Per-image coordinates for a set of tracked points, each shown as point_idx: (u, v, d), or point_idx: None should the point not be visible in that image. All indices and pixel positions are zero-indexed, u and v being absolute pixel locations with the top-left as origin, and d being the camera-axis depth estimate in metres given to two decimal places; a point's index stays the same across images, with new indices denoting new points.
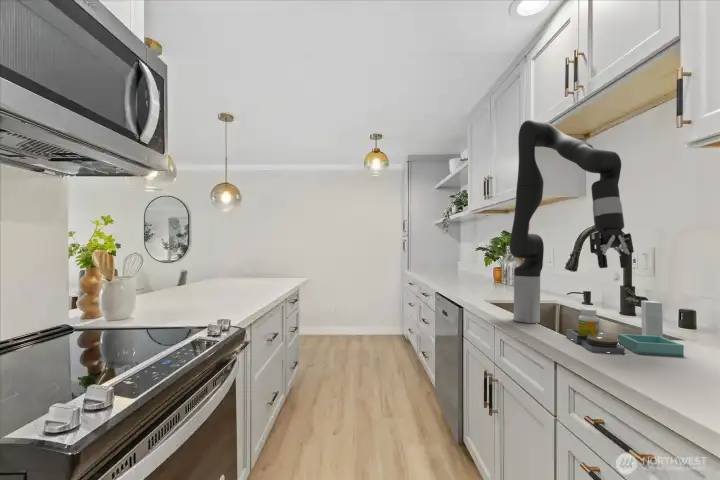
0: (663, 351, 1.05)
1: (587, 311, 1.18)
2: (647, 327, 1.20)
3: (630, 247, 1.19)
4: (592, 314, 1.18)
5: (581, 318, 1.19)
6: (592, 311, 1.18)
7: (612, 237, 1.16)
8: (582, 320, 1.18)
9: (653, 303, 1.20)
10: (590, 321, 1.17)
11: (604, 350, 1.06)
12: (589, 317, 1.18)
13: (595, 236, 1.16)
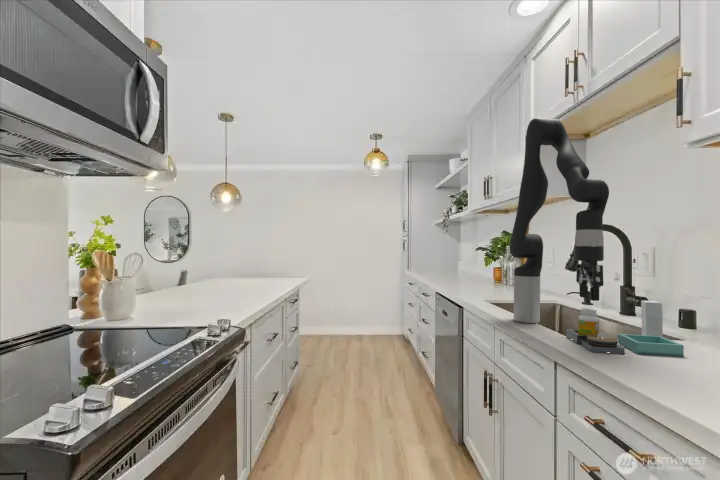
0: (663, 351, 1.05)
1: (587, 311, 1.18)
2: (647, 327, 1.20)
3: None
4: (592, 314, 1.18)
5: (581, 318, 1.19)
6: (592, 311, 1.18)
7: None
8: (582, 320, 1.18)
9: (653, 303, 1.20)
10: (590, 321, 1.17)
11: (604, 350, 1.06)
12: (588, 317, 1.18)
13: (601, 269, 1.13)
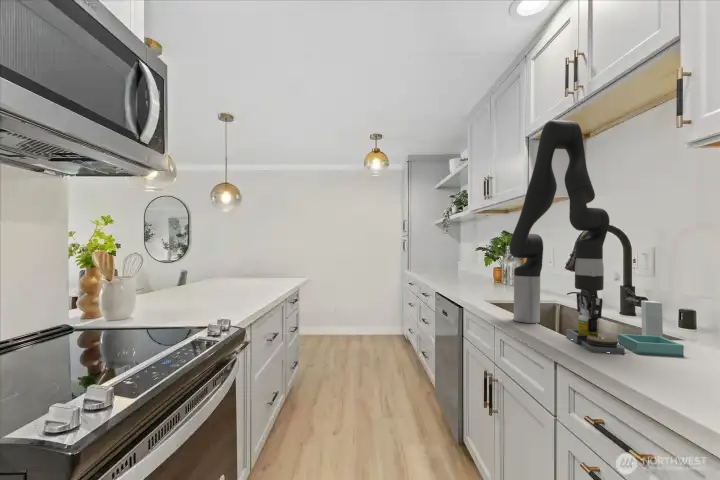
0: (663, 351, 1.05)
1: None
2: (647, 327, 1.20)
3: None
4: None
5: (581, 318, 1.19)
6: None
7: None
8: (582, 320, 1.18)
9: (653, 303, 1.20)
10: None
11: (604, 350, 1.06)
12: None
13: (600, 303, 1.13)
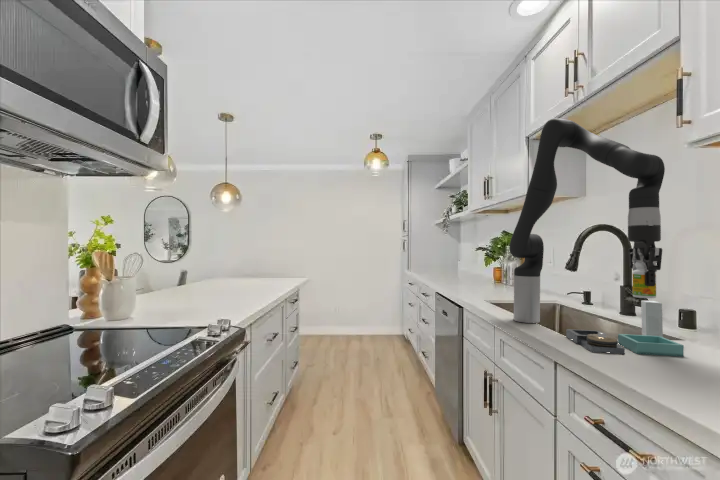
0: (663, 351, 1.05)
1: None
2: (647, 327, 1.20)
3: None
4: None
5: (636, 272, 1.10)
6: None
7: None
8: (638, 274, 1.10)
9: (653, 303, 1.20)
10: None
11: (604, 350, 1.06)
12: None
13: (660, 253, 1.04)
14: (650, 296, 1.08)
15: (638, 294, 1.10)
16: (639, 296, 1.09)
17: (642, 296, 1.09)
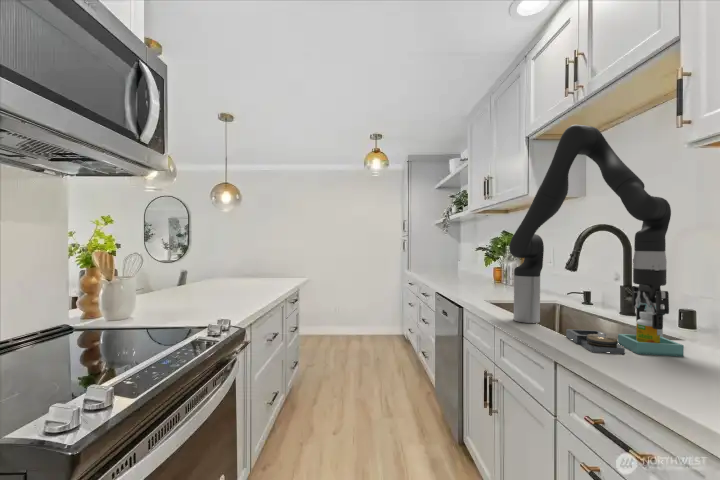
0: (663, 351, 1.05)
1: (647, 315, 1.09)
2: None
3: None
4: None
5: (640, 322, 1.10)
6: None
7: None
8: (642, 325, 1.10)
9: None
10: (651, 326, 1.08)
11: (604, 350, 1.06)
12: (649, 321, 1.09)
13: (666, 296, 1.04)
14: None
15: None
16: None
17: None
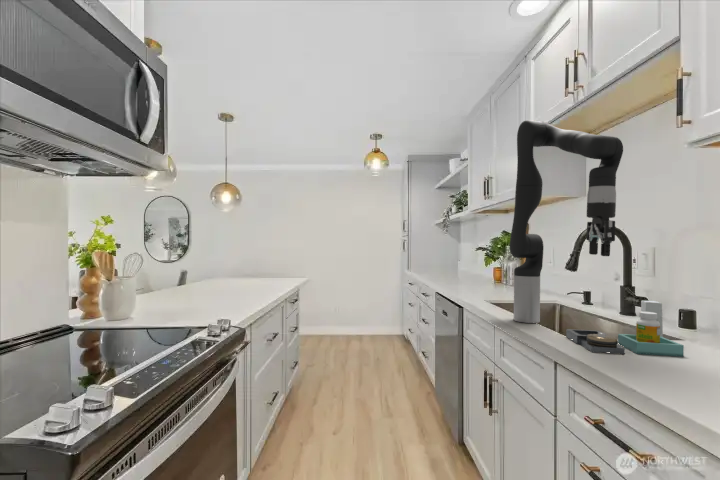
0: (663, 351, 1.05)
1: (647, 315, 1.09)
2: None
3: None
4: (653, 318, 1.09)
5: (640, 322, 1.10)
6: (653, 315, 1.09)
7: None
8: (642, 325, 1.10)
9: (653, 303, 1.20)
10: (651, 326, 1.08)
11: (604, 350, 1.06)
12: (649, 321, 1.09)
13: (613, 225, 1.14)
14: None
15: None
16: None
17: None
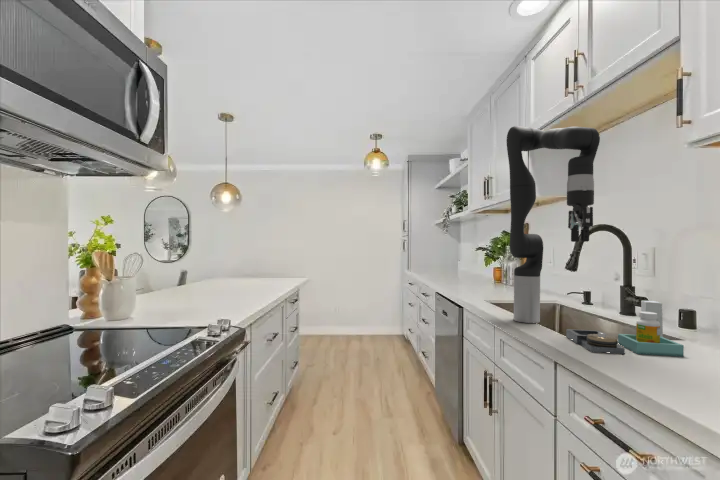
0: (663, 351, 1.05)
1: (647, 315, 1.09)
2: None
3: None
4: (653, 318, 1.09)
5: (640, 322, 1.10)
6: (653, 315, 1.09)
7: None
8: (642, 325, 1.10)
9: (653, 303, 1.20)
10: (651, 326, 1.08)
11: (604, 350, 1.06)
12: (649, 321, 1.09)
13: (591, 210, 1.18)
14: None
15: None
16: None
17: None
